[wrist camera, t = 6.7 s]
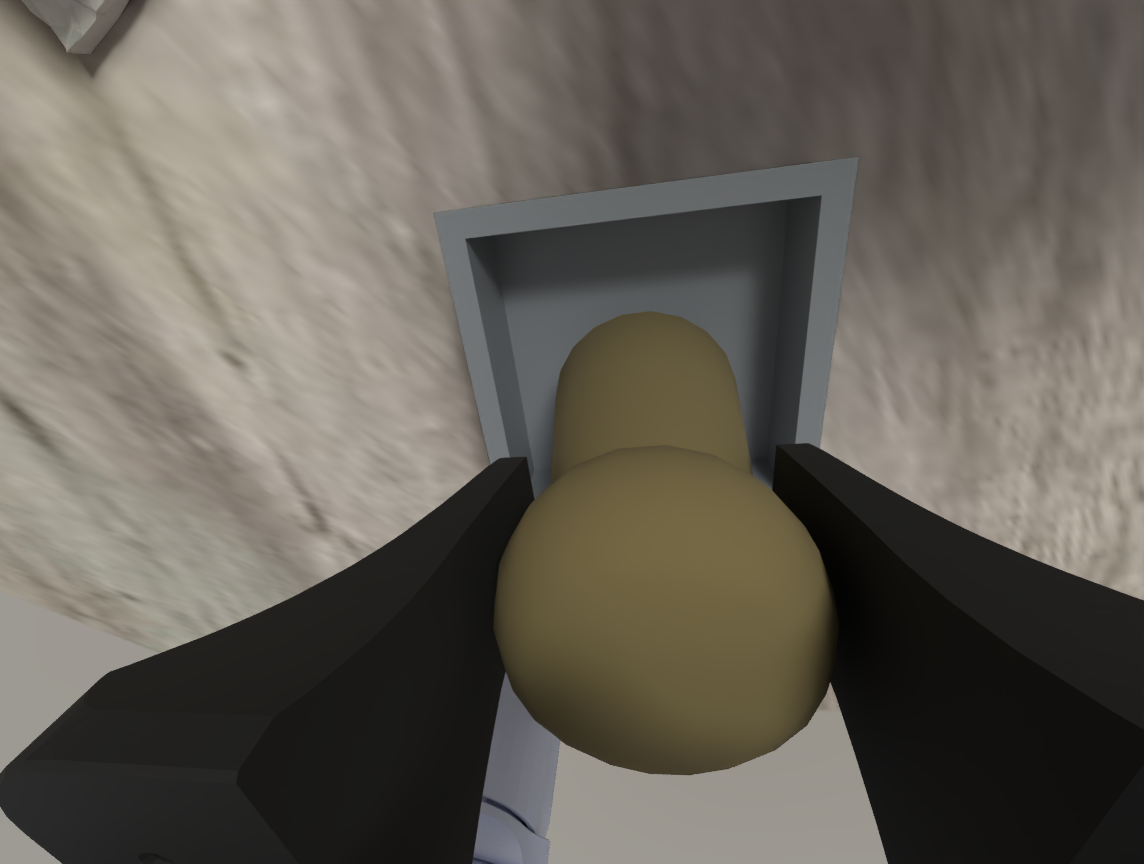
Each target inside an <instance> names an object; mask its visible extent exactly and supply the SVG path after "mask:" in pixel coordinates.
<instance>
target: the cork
mask: <svg viewBox="0 0 1144 864" xmlns="http://www.w3.org/2000/svg"><path fill="white" fill-rule="evenodd" d="M493 631H494V634H495V638H496V641H497V644H498V648H499V651H500V655H501V658H502V662H503V665H504V668H505V671H506V674H507V676H508V679H509V682H510V684H511V687H512V690H513V692H514V693H515V694H516V696H517V697H518V699H519V700H520V701H521V703H522V704H523V705H524V707H525V708H526V709H527V711H528V712H529V714H530V715H531V716H532V718H533V719H534V720H535V721H536V722H537V723H539V724H540V725H541V726H543V727H544V728H545V729H546V730H548V731H549V732H550V733H552V734H553V735H554V736H556V737H557V738H558V739H559V740H561V741H562V742H563V743H565V744H566V745H568V746H570V747H573V748H575V749H577V750H579V751H581V752H583V753H586V754H588V755H590V756H592V757H595V758H597V759H599V760H601V761H603V762H606V763H608V764H610V765H613V766H618V767H622V768H626V769H631V770H636V771H640V772H644V773H648V774H671V775H693V774H699V773H705V772H712V771H718V770H724V769H729V768H732V767H735V766H737V765H739V764H742V763H745V762H747V761H750V760H752V759H754V758H757V757H760V756H762V755H764V754H767V753H769V752H772V751H774V750H776V749H777V748H779V747H780V746H781V745H782V744H784V743H785V742H786V741H788V740H789V739H790V738H791V737H793V736H794V735H795V734H797V733H798V732H799V731H800V730H802V729H803V728H804V727H806V726H807V725H808V723H809V721H810V720H811V718H812V716H813V715H814V713H815V711H816V710H817V708H818V707H819V705H820V703H821V702H822V700H823V698H824V697H825V695H826V693H827V690H828V687H829V684H830V680H831V677H832V674H833V670H834V667H835V661H836V652H837V642H838V633H839V618H838V612H837V606H836V600H835V594H834V591H833V588H832V585H831V583H830V580H829V577H828V574H827V571H826V569H825V566H824V563H823V560H822V558H821V555H820V552H819V550H818V548H817V546H816V545H815V543H814V541H813V540H812V538H811V536H810V534H809V533H808V531H807V529H806V528H805V526H804V525H803V524H802V523H801V521H800V520H799V519H798V518H797V517H796V516H795V515H794V514H793V513H792V512H791V511H790V509H789V508H788V507H787V506H786V505H785V504H784V503H783V502H782V501H781V500H780V499H779V497H778V496H777V495H776V494H775V493H774V492H773V491H772V490H771V489H770V488H768V487H767V486H766V485H765V484H763V483H762V482H761V481H760V480H758V479H757V478H756V477H754V476H753V472H752V467H751V461H750V455H749V450H748V444H747V439H746V433H745V428H744V422H743V417H742V411H741V406H740V400H739V395H738V389H737V384H736V379H735V376H734V373H733V371H732V368H731V366H730V363H729V360H728V358H727V355H726V353H725V352H724V351H723V349H722V348H721V347H720V346H719V345H718V344H717V342H716V341H715V340H714V339H713V338H712V337H711V336H710V334H709V333H708V332H707V331H705V330H703V329H702V328H700V327H698V326H696V325H695V324H693V323H691V322H689V321H688V320H686V319H684V318H682V317H679V316H674V315H669V314H664V313H659V312H653V311H648V312H640V313H632V314H624V315H620V316H618V317H615V318H613V319H611V320H609V321H607V322H605V323H603V324H601V325H598V326H596V327H594V328H593V329H592V330H591V331H590V332H589V333H588V334H587V335H586V336H584V337H583V338H582V339H581V340H580V341H579V342H578V343H577V344H576V345H575V346H574V347H573V348H572V350H571V352H570V354H569V356H568V357H567V359H566V361H565V363H564V365H563V367H562V369H561V371H560V375H559V381H558V387H557V393H556V403H555V419H554V436H553V453H552V470H551V485H550V486H549V487H547V488H546V489H545V490H544V491H543V492H542V493H541V494H540V495H539V496H538V497H537V498H536V499H535V500H534V501H533V502H532V503H531V504H530V505H529V507H528V509H527V510H526V512H525V514H524V515H523V517H522V519H521V520H520V522H519V524H518V526H517V527H516V529H515V531H514V532H513V534H512V536H511V537H510V539H509V541H508V544H507V546H506V548H505V551H504V553H503V556H502V558H501V561H500V563H499V570H498V577H497V585H496V593H495V600H494V622H493Z"/></svg>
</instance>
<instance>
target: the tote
mask: <svg viewBox="0 0 1144 864" xmlns="http://www.w3.org/2000/svg"><path fill="white" fill-rule="evenodd" d="M858 160H859V157H852V158H844V159H837V160H829V161H821V162H813V163H806V164H798V165H791V166H783V167H776V168H768V169H760V170H753V171H745V172H738V173H730V174H722V175H715V176H707V177H700V178H692V179H685V180H677V181H669V182H662V183H654V184H647V185H639V186H631V187H624V188H616V189H609V190H601V191H594V192H586V193H578V194H571V195H563V196H556V197H548V198H540V199H533V200H525V201H518V202H510V203H503V204H495V205H487V206H480V207H472V208H465V209H457V210H450V211H442V212H435V213H433V214H434V218H435V223H436V227H437V231H438V236H439V240H440V245H441V249H442V254H443V258H444V262H445V267H446V271H447V276H448V280H449V284H450V289H451V293H452V298H453V302H454V306H455V311H456V315H457V320H458V324H459V328H460V333H461V337H462V342H463V346H464V350H465V355H466V359H467V364H468V368H469V372H470V377H471V381H472V386H473V390H474V394H475V399H476V403H477V408H478V412H479V417H480V421H481V425H482V430H483V434H484V439H485V443H486V447H487V452H488V456H489V461H490V465H491V464H492V463H493V462H495V461H496V460H497V459H499V458H507V457H527V461H528V467H529V472H530V477H531V483H532V488H533V494H534V499H536V498H537V497H538V496H539V495H540V494H541V493H542V492H543V491H544V490H545V489H546V488H547V487H549V486H550V485H551V470H552V453H553V436H554V419H555V403H556V393H557V387H558V381H559V375H560V371H561V369H562V367H563V365H564V363H565V361H566V359H567V357H568V356H569V354H570V352H571V350H572V348H573V347H574V346H575V345H576V344H577V343H578V342H579V341H580V340H581V339H582V338H583V337H584V336H586V335H587V334H588V333H589V332H590V331H591V330H592V329H593V328H594V327H596V326H598V325H601V324H603V323H605V322H607V321H609V320H611V319H613V318H615V317H618V316H620V315H624V314H632V313H640V312H648V311H653V312H659V313H664V314H669V315H674V316H679V317H682V318H684V319H686V320H688V321H689V322H691V323H693V324H695V325H696V326H698V327H700V328H702V329H703V330H705V331H707V332H708V333H709V334H710V336H711V337H712V338H713V339H714V340H715V341H716V342H717V344H718V345H719V346H720V347H721V348H722V349H723V351H724V352H725V353H726V355H727V358H728V360H729V363H730V366H731V368H732V371H733V373H734V376H735V379H736V384H737V389H738V395H739V400H740V406H741V411H742V417H743V422H744V428H745V433H746V439H747V444H748V450H749V455H750V461H751V467H752V472H753V476H754V477H756V478H757V479H758V480H760V481H761V482H762V483H763V484H765V485H766V486H767V487H768V488H770V489H771V490H772V487H773V475H774V464H775V452H776V445H778V444H799V443H809V444H812V445H814V446H816V447H818V448H819V449H820V442H821V434H822V427H823V420H824V412H825V405H826V397H827V390H828V383H829V375H830V368H831V360H832V353H833V345H834V338H835V331H836V323H837V316H838V308H839V301H840V293H841V286H842V279H843V271H844V264H845V256H846V249H847V241H848V234H849V227H850V219H851V212H852V204H853V197H854V189H855V182H856V175H857V167H858Z"/></svg>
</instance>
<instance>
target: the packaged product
mask: <svg viewBox="0 0 1144 864" xmlns="http://www.w3.org/2000/svg"><path fill="white" fill-rule="evenodd" d="M21 1H22V2H23V3H24V4H25V5H26V7H27V8H28V9H29V10H30V11H31V13H33V14H34V15H35V16H37V17H38V18H40V19H41V20H42V21H44V22H45V23H46V24H48V25H49V26H50V27H51V28H52V29H53V31H54V32H55V34H56V35H57V37H58V38H59V39H60V41H61V42H62V44H63V45H64V47H65V48H66V53H78V54H91V53H92V51H93V50H94V49H95V47H96V46H97V45H98V44H99V42H100V41H101V40H102V39H103V37H104V36H105V35H106V34H107V32H108V31H109V30H110V29H111V27H112V26H113V25H114V24H115V23H116V21H117V20H118V19H119V17H120V15H121V14H122V12H123V10H124V8H125V7H126V5H127V3H128V2H129V0H21Z"/></svg>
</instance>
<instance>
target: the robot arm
mask: <svg viewBox="0 0 1144 864" xmlns="http://www.w3.org/2000/svg"><path fill="white" fill-rule="evenodd" d="M772 491H773V492H774V493H775V494H776V495H777V496H778V497H779V499H780V500H781V501H782V502H783V503H784V504H785V505H786V506H787V507H788V508H789V509H790V511H791V512H792V513H793V514H794V515H795V516H796V517H797V518H798V519H799V520H800V521H801V523H802V524H803V525H804V526H805V528H806V529H807V531H808V533H809V534H810V536H811V538H812V540H813V541H814V543H815V545H816V546H817V548H818V550H819V552H820V555H821V558H822V560H823V563H824V566H825V569H826V571H827V574H828V577H829V580H830V583H831V585H832V588H833V591H834V594H835V600H836V606H837V612H838V618H839V633H838V642H837V652H836V661H835V667H834V670H833V674H832V677H831V680H830V682H831V685H832V687H833V690H834V692H835V695H836V698H837V701H838V704H839V707H840V710H841V713H842V716H843V719H844V722H845V725H846V728H847V731H848V734H849V737H850V740H851V743H852V746H853V749H854V752H855V755H856V759H857V761H858V765H859V768H860V771H861V775H862V778H863V781H864V784H865V788H866V791H867V794H868V797H869V801H870V804H871V807H872V810H873V814H874V816H875V820H876V823H877V826H878V830H879V834H880V837H881V841H882V844H883V847H884V851H885V855H886V858H887V862H888V864H1144V600H1141V599H1138V598H1135V597H1132V596H1129V595H1127V594H1124V593H1121V592H1119V591H1116V590H1113V589H1110V588H1108V587H1105V586H1102V585H1100V584H1097V583H1094V582H1091V581H1089V580H1086V579H1083V578H1081V577H1078V576H1075V575H1073V574H1070V573H1067V572H1065V571H1062V570H1060V569H1057V568H1054V567H1052V566H1049V565H1047V564H1044V563H1042V562H1039V561H1037V560H1034V559H1032V558H1030V557H1027V556H1025V555H1023V554H1020V553H1018V552H1016V551H1014V550H1011V549H1009V548H1007V547H1004V546H1002V545H1000V544H997V543H995V542H993V541H991V540H988V539H986V538H984V537H981V536H979V535H977V534H975V533H973V532H971V531H969V530H966V529H964V528H962V527H960V526H958V525H956V524H954V523H952V522H950V521H948V520H946V519H944V518H942V517H940V516H938V515H936V514H934V513H932V512H931V511H929V510H927V509H925V508H923V507H921V506H919V505H917V504H915V503H913V502H911V501H910V500H908V499H906V498H904V497H902V496H900V495H899V494H897V493H895V492H893V491H892V490H890V489H888V488H886V487H884V486H883V485H881V484H879V483H878V482H876V481H874V480H872V479H871V478H869V477H867V476H866V475H864V474H862V473H860V472H859V471H857V470H855V469H854V468H852V467H850V466H849V465H847V464H845V463H844V462H842V461H840V460H839V459H837V458H835V457H833V456H832V455H830V454H828V453H827V452H825V451H823V450H821V449H819V448H818V447H816V446H814V445H812V444H809V443H799V444H778V445H776V452H775V464H774V475H773V487H772ZM534 500H535V499H534V494H533V488H532V483H531V477H530V472H529V467H528V461H527V457H507V458H499V459H497V460H496V461H495V462H493V463H492V464H491V465H489V466H488V467H487V468H485V469H484V470H483V471H482V472H481V473H479V474H478V475H477V476H476V477H474V478H473V479H472V480H471V481H470V482H468V483H467V484H466V485H465V486H464V487H462V488H461V489H460V490H459V491H457V492H456V493H455V494H454V495H453V496H451V497H450V498H449V499H448V500H446V501H445V502H444V503H443V504H441V505H440V506H439V507H437V508H436V509H435V510H433V511H432V512H431V513H429V514H428V515H427V516H425V517H424V518H423V519H421V520H420V521H419V522H417V523H416V524H415V525H413V526H412V527H410V528H409V529H408V530H406V531H405V532H404V533H402V534H401V535H399V536H398V537H396V538H395V539H394V540H392V541H390V542H389V543H387V544H386V545H384V546H383V547H381V548H380V549H378V550H377V551H375V552H373V553H372V554H370V555H368V556H367V557H365V558H363V559H362V560H360V561H359V562H357V563H355V564H354V565H352V566H350V567H348V568H347V569H345V570H343V571H341V572H339V573H337V574H335V575H334V576H332V577H330V578H328V579H326V580H324V581H322V582H320V583H318V584H317V585H315V586H313V587H311V588H309V589H307V590H305V591H303V592H302V593H300V594H298V595H296V596H294V597H292V598H290V599H288V600H286V601H284V602H281V603H279V604H277V605H275V606H273V607H271V608H269V609H266V610H264V611H262V612H260V613H258V614H256V615H253V616H251V617H249V618H246V619H244V620H242V621H240V622H237V623H235V624H233V625H230V626H228V627H226V628H223V629H221V630H219V631H216V632H214V633H211V634H209V635H207V636H204V637H202V638H199V639H196V640H194V641H191V642H189V643H186V644H183V645H181V646H178V647H175V648H173V649H170V650H167V651H165V652H162V653H160V654H157V655H154V656H152V657H149V658H147V659H144V660H141V661H138V662H136V663H133V664H131V665H128V666H125V667H122V668H119V669H116V670H114V671H111V672H109V673H107V674H106V675H105V676H104V677H102V678H101V679H100V680H99V681H98V682H96V683H95V684H94V685H93V686H92V687H91V688H90V689H89V690H88V691H87V692H86V693H85V694H84V695H83V696H81V697H80V698H79V699H78V700H77V701H76V702H75V703H74V704H73V705H72V706H71V707H70V708H69V709H67V710H66V711H65V712H64V713H63V714H62V715H61V716H60V717H59V718H58V719H57V720H56V721H55V722H53V723H52V724H51V725H50V726H49V727H48V728H47V729H46V730H45V731H44V732H43V733H42V734H41V735H39V737H37V738H36V739H35V740H34V741H33V742H32V743H31V744H30V745H29V746H28V747H27V748H26V749H24V750H23V751H22V752H21V754H19V755H18V756H17V757H16V758H15V759H14V760H13V761H12V762H10V764H8V765H7V766H6V768H4V770H3V771H2V772H1V773H0V807H1V808H2V810H3V811H4V813H5V815H6V816H7V817H8V818H9V819H10V820H11V821H12V822H13V823H14V824H15V825H16V826H17V827H18V828H19V829H21V830H22V831H23V832H24V833H25V834H26V835H27V836H29V837H30V838H31V839H32V840H34V841H35V842H36V843H37V844H39V845H40V846H41V847H42V848H44V849H45V850H46V851H47V852H49V853H50V854H51V855H52V856H54V857H55V858H56V859H57V860H59V861H60V862H61V863H62V864H547V863H548V855H549V846H550V841H549V840H548V839H546V838H545V837H546V834H547V830H548V826H549V822H550V816H551V807H552V800H553V792H554V784H555V776H556V768H557V760H558V753H559V745H560V740H559V739H558V738H557V737H556V736H554V735H553V734H552V733H550V732H549V731H548V730H546V729H545V728H544V727H543V726H541V725H540V724H539V723H537V722H536V721H535V720H534V719H533V718H532V716H531V715H530V714H529V712H528V711H527V709H526V708H525V707H524V705H523V704H522V703H521V701H520V700H519V699H518V697H517V696H516V694H515V693H514V692H513V690H512V687H511V684H510V682H509V679H508V676H507V674H506V671H505V668H504V665H503V662H502V658H501V655H500V651H499V648H498V644H497V641H496V638H495V634H494V631H493V622H494V600H495V593H496V585H497V577H498V570H499V563H500V561H501V558H502V556H503V553H504V551H505V548H506V546H507V544H508V541H509V539H510V537H511V536H512V534H513V532H514V531H515V529H516V527H517V526H518V524H519V522H520V520H521V519H522V517H523V515H524V514H525V512H526V510H527V509H528V507H529V505H530V504H531V503H532V502H533V501H534Z"/></svg>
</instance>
